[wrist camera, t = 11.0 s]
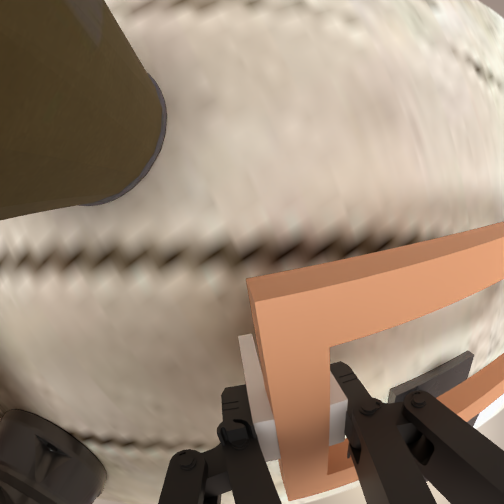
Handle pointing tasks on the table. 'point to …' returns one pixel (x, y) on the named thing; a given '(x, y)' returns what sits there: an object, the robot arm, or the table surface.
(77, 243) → the table surface
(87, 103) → the canister
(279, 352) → the link
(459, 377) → the stand
